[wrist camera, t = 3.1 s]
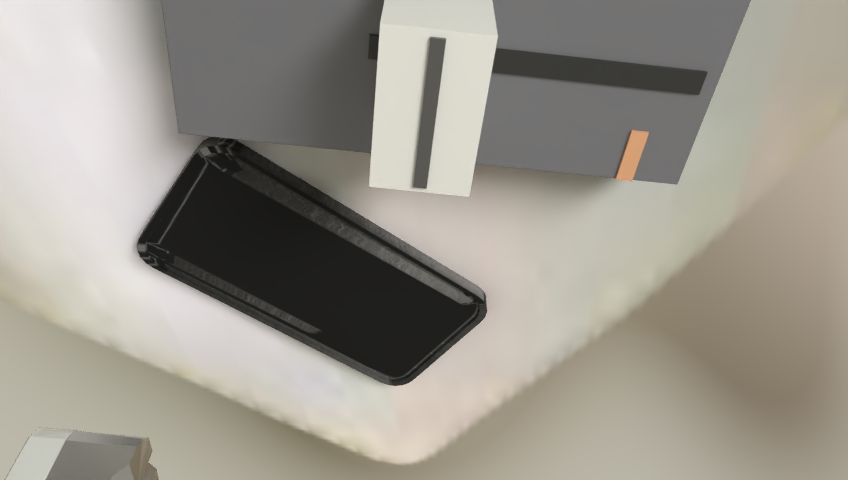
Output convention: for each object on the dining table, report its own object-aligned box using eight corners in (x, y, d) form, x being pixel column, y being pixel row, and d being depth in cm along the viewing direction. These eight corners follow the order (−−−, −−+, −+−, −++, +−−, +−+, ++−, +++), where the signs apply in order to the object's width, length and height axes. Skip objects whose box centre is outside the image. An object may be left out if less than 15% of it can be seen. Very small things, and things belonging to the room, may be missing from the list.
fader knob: (378, 120, 24) (368, 188, 21) (389, -29, 21) (379, 24, 18) (465, 129, 24) (469, 198, 21) (489, -17, 21) (498, 37, 18)
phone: (207, 135, 27) (497, 308, 33) (214, 121, 28) (495, 291, 34) (127, 256, 31) (398, 393, 37) (136, 241, 32) (399, 376, 38)
